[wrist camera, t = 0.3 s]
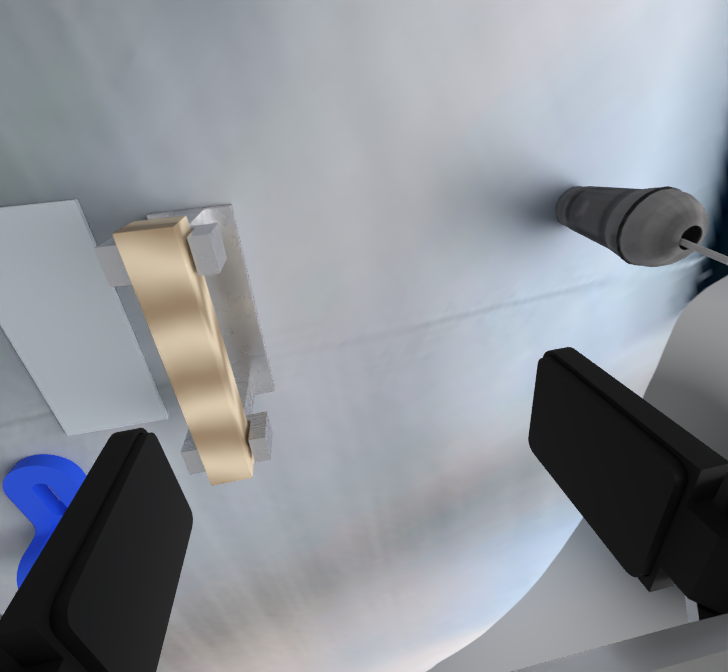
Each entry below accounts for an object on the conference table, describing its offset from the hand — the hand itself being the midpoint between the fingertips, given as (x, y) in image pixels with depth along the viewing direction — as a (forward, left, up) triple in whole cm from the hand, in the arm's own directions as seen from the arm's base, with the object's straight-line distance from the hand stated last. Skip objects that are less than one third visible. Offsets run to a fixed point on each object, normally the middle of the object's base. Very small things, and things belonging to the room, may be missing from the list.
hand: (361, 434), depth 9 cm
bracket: (+36, -38, -36) cm, 64 cm away
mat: (+11, -27, -36) cm, 46 cm away
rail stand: (+11, -11, -36) cm, 39 cm away
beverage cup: (+4, +32, -36) cm, 48 cm away
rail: (+11, -11, -26) cm, 30 cm away
